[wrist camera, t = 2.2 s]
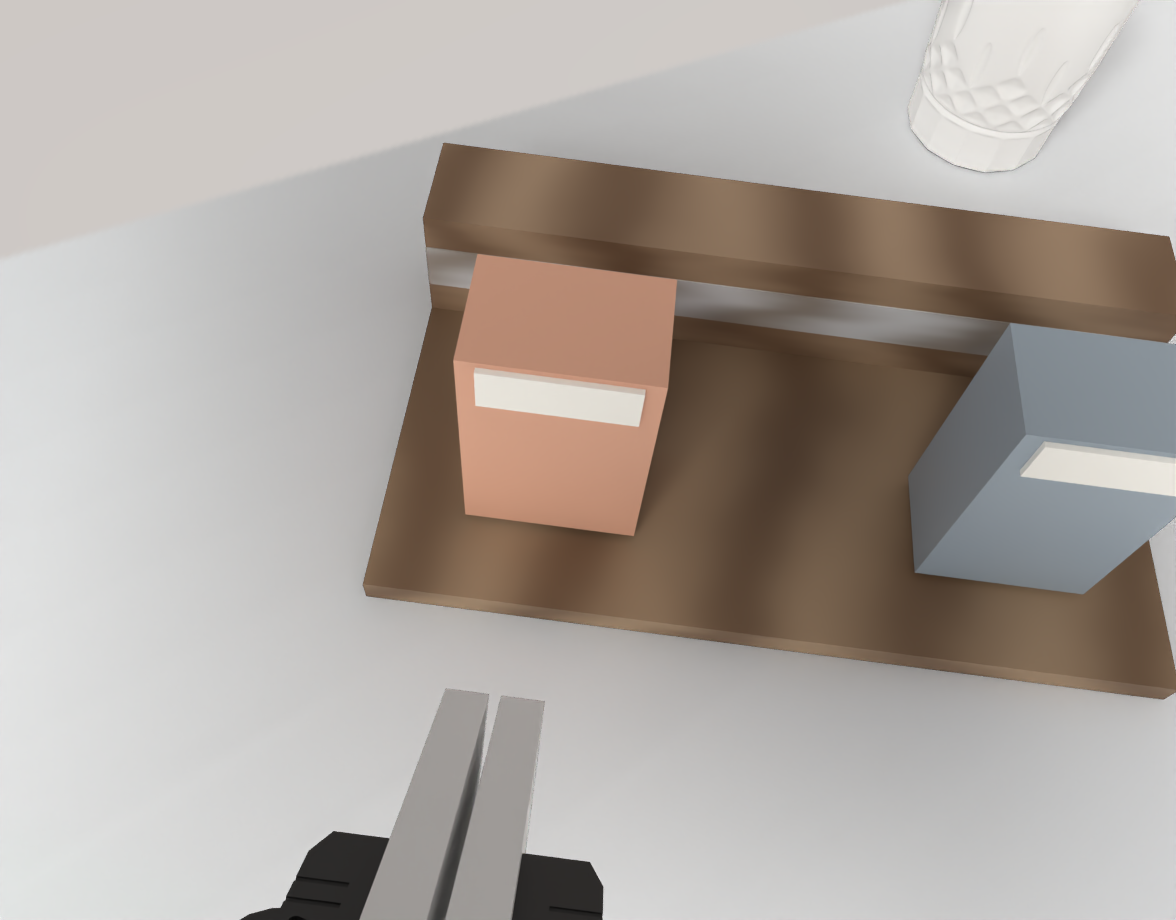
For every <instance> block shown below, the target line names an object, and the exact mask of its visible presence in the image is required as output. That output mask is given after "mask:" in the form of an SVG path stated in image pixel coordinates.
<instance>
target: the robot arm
mask: <svg viewBox="0 0 1176 920" xmlns="http://www.w3.org/2000/svg"><path fill="white" fill-rule="evenodd" d="M488 700H489V694H484V693H477V692H469V691H461V690H454V689H445V692H444V695H443V697H442V700H441V703H440V705H439V708H438V711H437V713H436V716H435V719H434V722H433V724H432V727H431V730H430V732H429V735H428V738H427V740H426V743H425V746H424V748H423V751H422V754H421V756H420V759H419V762H418V764H417V767H416V770H415V772H414V775H413V778H412V780H411V783H410V786H409V788H408V791H407V794H406V796H405V799H404V802H403V804H402V807H401V810H400V812H399V815H398V818H397V820H396V823H395V826H394V828H393V831H392V834H391V836H390V839H389V838H382V837H374V836H366V835H359V834H351V833H343V832H336V831H333V832H332V833H331V834H329V835H328V836H327V837H326V838H324V839H323V840H322V841H321V842H319V843H318V844H317V845H316V846H314V847H313V848H312V849H311V850H309V851H308V853H307V855H306V858H305V860H304V862H303V864H302V866H301V868H300V870H299V872H298V874H297V876H296V880H295V881H294V882H293V884H292V886H291V888H290V890H289V892H288V894H287V896H286V901H284V902H283V904H282V906H281V908H271V909H267V910H263V911H260V912H256V913H252V914H249V915H247V916H246V917H244V918H242V919H240V920H602V914H603V885H602V883H601V882H600V880H599V878H598V876H597V874H596V873H595V871H594V869H593V867H592V865H591V863H590V862H586V861H578V860H570V859H563V858H555V857H547V856H539V855H532V854H525V852H526V845H527V838H528V830H529V822H530V814H531V806H532V799H533V791H534V783H535V775H536V767H537V759H538V751H539V743H540V735H541V727H542V719H543V711H544V703H545V701H538V700H530V699H523V698H515V697H507V696H501V699H500V703H499V707H498V711H497V715H496V719H495V723H494V727H493V731H492V735H491V739H490V743H489V747H488V751H487V755H486V759H485V763H484V767H483V771H482V775H481V779H480V772H481V763H482V754H483V745H484V736H485V727H486V718H487V709H488ZM479 781H480V783H479Z"/></svg>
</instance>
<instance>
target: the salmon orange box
mask: <svg viewBox="0 0 1176 920" xmlns="http://www.w3.org/2000/svg"><path fill="white" fill-rule="evenodd" d="M676 288H677V280H675V279H667V278H659V277H652V276H644V275H636V274H628V273H621V272H613V271H605V270H598V269H590V268H582V267H574V266H567V265H559V264H551V263H544V262H536V261H528V260H520V259H513V258H505V257H497V256H489V255H482V254H477V258H476V263H475V267H474V271H473V276H472V280H471V285H470V289H469V293H468V298H467V302H466V307H465V311H464V315H463V320H462V324H461V329H460V333H459V337H458V342H457V346H456V351H455V355H454V359H453V363H454V376H455V389H456V402H457V414H458V427H459V440H460V453H461V466H462V478H463V491H464V504H465V514H467V515H474V516H482V517H490V518H498V519H505V520H513V521H521V522H528V523H536V524H544V525H552V526H559V527H567V528H575V529H582V530H590V531H598V532H605V533H613V534H621V535H629V536H634V533H635V529H636V524H637V520H638V516H639V511H640V507H641V503H642V498H643V494H644V490H645V485H646V481H647V477H648V473H649V468H650V464H651V460H652V455H653V451H654V447H655V442H656V438H657V434H658V429H659V425H660V421H661V416H662V412H663V408H664V403H665V399H666V395H667V390H668V382H669V371H670V359H671V347H672V335H673V323H674V311H675V300H676Z"/></svg>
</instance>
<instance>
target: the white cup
mask: <svg viewBox="0 0 1176 920" xmlns="http://www.w3.org/2000/svg"><path fill="white" fill-rule="evenodd" d="M1139 2H1140V0H942V2H941V5H940V8H939V11H938V15H937V18H936V21H935V25H934V28H933V30H932V33H931V36H930V39H929V42H928V45H927V48H926V53H925V58H924V64H923V67H922V69H921V72H920V75H919V77H918V80H917V83H916V86H915V88H914V91H913V94H912V97H911V99H910V102H909V105H908V113H909V120H910V126H911V130H912V131H913V132H914V133H915V135H916V136H917V137H918V138H919V140H920V141H921V142H922V143H923V145H924V146H925V147H926V148H927V149H928V150H929V151H931V152H933V153H934V154H936V155H938V156H939V157H941V158H943V159H944V160H946V161H948V162H950V163H951V164H953V165H956V166H960V167H964V168H968V169H972V170H977V171H981V172H996V171H1009V170H1014V169H1016V168H1018V167H1020V166H1021V165H1023V164H1025V163H1027V162H1029V161H1031V160H1032V159H1034V158H1035V157H1036V155H1037V154H1038V152H1039V151H1040V149H1041V148H1042V146H1043V144H1044V143H1045V141H1046V140H1047V138H1048V136H1049V135H1050V133H1051V132H1052V130H1053V128H1054V127H1055V125H1056V124H1057V122H1058V121H1059V119H1060V117H1061V116H1062V115H1063V114H1064V113H1065V111H1066V110H1067V109H1069V108H1070V107H1071V105H1072V103H1073V102H1074V100H1075V99H1076V98H1077V96H1078V95H1079V93H1080V92H1081V90H1082V89H1083V87H1084V86H1085V84H1086V83H1087V82H1088V80H1089V79H1090V78H1091V76H1092V75H1093V73H1094V72H1095V70H1096V69H1097V67H1098V66H1099V64H1100V62H1101V61H1102V59H1103V58H1104V56H1105V55H1106V53H1107V52H1108V50H1109V48H1110V47H1111V45H1112V44H1113V42H1114V41H1115V39H1116V37H1117V36H1118V34H1119V33H1120V31H1121V30H1122V28H1123V27H1124V25H1125V23H1126V22H1127V20H1128V19H1129V17H1130V16H1131V14H1132V13H1133V11H1134V10H1135V8H1136V6H1137V5H1138V3H1139Z"/></svg>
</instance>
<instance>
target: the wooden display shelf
mask: <svg viewBox="0 0 1176 920" xmlns="http://www.w3.org/2000/svg"><path fill="white" fill-rule="evenodd" d="M423 223H424V233H425V243H426V257H427V266H428V276H429V284H430V293H431V303H432V309H431V313H430V317H429V321H428V325H427V329H426V333H425V337H424V341H423V345H422V349H421V353H420V357H419V361H418V365H417V369H416V373H415V377H414V381H413V385H412V389H411V393H410V397H409V401H408V405H407V409H406V413H405V417H404V421H403V425H402V429H401V433H400V437H399V441H398V445H397V449H396V453H395V457H394V461H393V465H392V470H391V474H390V478H389V482H388V486H387V490H386V494H385V498H384V502H383V506H382V510H381V514H380V518H379V522H378V526H377V530H376V534H375V538H374V542H373V546H372V550H371V554H370V558H369V562H368V566H367V570H366V574H365V578H364V582H363V586H364V590H365V593H366V596H370V597H378V598H385V599H393V600H401V601H409V602H416V603H424V604H432V605H439V606H447V607H455V608H463V609H470V610H478V611H486V612H493V613H501V614H509V615H516V616H524V617H532V618H540V619H547V620H555V621H563V622H570V623H578V624H586V625H594V626H601V627H609V628H617V629H624V630H632V631H640V632H647V633H655V634H663V635H671V636H678V637H686V638H694V639H701V640H709V641H717V642H724V643H732V644H740V645H748V646H755V647H763V648H771V649H778V650H786V651H794V652H802V653H809V654H817V655H825V656H832V657H840V658H848V659H855V660H863V661H871V662H879V663H886V664H894V665H902V666H909V667H917V668H925V669H933V670H940V671H948V672H956V673H963V674H971V675H979V676H986V677H994V678H1002V679H1010V680H1017V681H1025V682H1033V683H1040V684H1048V685H1056V686H1064V687H1071V688H1079V689H1087V690H1094V691H1102V692H1110V693H1117V694H1125V695H1133V696H1141V697H1148V698H1156V699H1165V698H1167V697H1168V696H1170V695H1172V694H1174V693H1175V692H1176V670H1175V665H1174V661H1173V656H1172V651H1171V646H1170V641H1169V636H1168V631H1167V627H1166V622H1165V617H1164V612H1163V607H1162V602H1161V597H1160V592H1159V588H1158V583H1157V578H1156V573H1155V568H1154V563H1153V558H1152V554H1151V549H1150V544H1149V540H1148V541H1147V542H1145V543H1144V544H1143V545H1142V546H1141V547H1139V548H1138V549H1137V550H1136V551H1135V552H1133V553H1132V554H1131V555H1130V556H1129V557H1127V558H1126V559H1125V560H1124V561H1123V562H1121V563H1120V564H1119V565H1118V566H1117V567H1115V568H1114V569H1113V570H1112V571H1111V572H1109V573H1108V574H1107V575H1106V576H1105V577H1104V578H1102V579H1101V580H1100V581H1099V582H1098V583H1096V584H1095V585H1094V586H1093V587H1092V588H1090V589H1089V590H1088V591H1087V592H1086V593H1084V594H1076V593H1068V592H1060V591H1053V590H1045V589H1037V588H1030V587H1022V586H1014V585H1006V584H999V583H991V582H983V581H976V580H968V579H960V578H952V577H945V576H937V575H929V574H922V573H915V570H914V555H913V540H912V525H911V510H910V495H909V480H908V476H909V474H910V473H911V471H912V470H913V468H914V467H915V465H916V464H917V462H918V461H919V459H920V458H921V456H922V455H923V453H924V452H925V450H926V449H927V447H928V446H929V444H930V443H931V441H932V440H933V438H934V437H935V435H936V434H937V432H938V431H939V429H940V428H941V426H942V425H943V423H944V422H945V420H946V419H947V417H948V416H949V414H950V413H951V411H952V410H953V408H954V407H955V405H956V404H957V402H958V401H959V399H960V398H961V396H962V395H963V393H964V392H965V390H966V389H967V387H968V386H969V384H970V383H971V381H972V380H973V378H974V377H975V375H976V374H977V372H978V371H979V369H980V368H981V366H982V365H983V363H984V362H985V360H986V359H987V357H988V356H989V354H990V353H991V351H992V350H993V348H994V347H995V345H996V344H997V342H998V341H999V339H1000V338H1001V336H1002V335H1003V333H1004V332H1005V330H1006V329H1007V327H1008V325H1009V324H1010V323H1015V324H1022V325H1030V326H1038V327H1046V328H1053V329H1061V330H1069V331H1076V332H1084V333H1092V334H1100V335H1107V336H1115V337H1123V338H1130V339H1138V340H1146V341H1154V342H1161V343H1168V342H1169V341H1170V340H1171V338H1172V337H1173V336H1174V335H1175V334H1176V260H1175V256H1174V253H1173V249H1172V245H1171V241H1170V238H1169V237H1168V236H1160V235H1152V234H1145V233H1137V232H1129V231H1121V230H1114V229H1106V228H1098V227H1091V226H1083V225H1075V224H1067V223H1060V222H1052V221H1044V220H1036V219H1029V218H1021V217H1013V216H1006V215H998V214H990V213H982V212H975V211H967V210H959V209H951V208H944V207H936V206H928V205H921V204H913V203H905V202H897V201H890V200H882V199H874V198H866V197H859V196H851V195H843V194H836V193H828V192H820V191H812V190H805V189H797V188H789V187H781V186H774V185H766V184H758V183H750V182H743V181H735V180H727V179H720V178H712V177H704V176H696V175H689V174H681V173H673V172H665V171H658V170H650V169H642V168H635V167H627V166H619V165H611V164H604V163H596V162H588V161H580V160H573V159H565V158H557V157H550V156H542V155H534V154H526V153H519V152H511V151H503V150H495V149H488V148H480V147H472V146H465V145H457V144H449V143H443V146H442V150H441V154H440V157H439V161H438V165H437V168H436V172H435V176H434V179H433V183H432V187H431V190H430V194H429V198H428V201H427V205H426V209H425V212H424V216H423ZM477 254H482V255H489V256H497V257H505V258H513V259H520V260H528V261H536V262H544V263H551V264H559V265H567V266H574V267H582V268H590V269H598V270H605V271H613V272H621V273H628V274H636V275H644V276H652V277H659V278H667V279H675V280H677V288H676V300H675V311H674V323H673V335H672V347H671V359H670V371H669V382H668V390H667V395H666V399H665V403H664V408H663V412H662V416H661V421H660V425H659V429H658V434H657V438H656V442H655V447H654V451H653V455H652V460H651V464H650V468H649V473H648V477H647V481H646V485H645V490H644V494H643V498H642V503H641V507H640V511H639V516H638V520H637V524H636V529H635V533H634V536H629V535H621V534H613V533H605V532H598V531H590V530H582V529H575V528H567V527H559V526H552V525H544V524H536V523H528V522H521V521H513V520H505V519H498V518H490V517H482V516H474V515H467V514H465V504H464V491H463V478H462V466H461V453H460V440H459V427H458V414H457V402H456V389H455V376H454V363H453V359H454V355H455V351H456V346H457V342H458V337H459V333H460V329H461V324H462V320H463V315H464V311H465V307H466V302H467V298H468V293H469V289H470V285H471V280H472V276H473V271H474V267H475V263H476V258H477Z"/></svg>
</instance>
